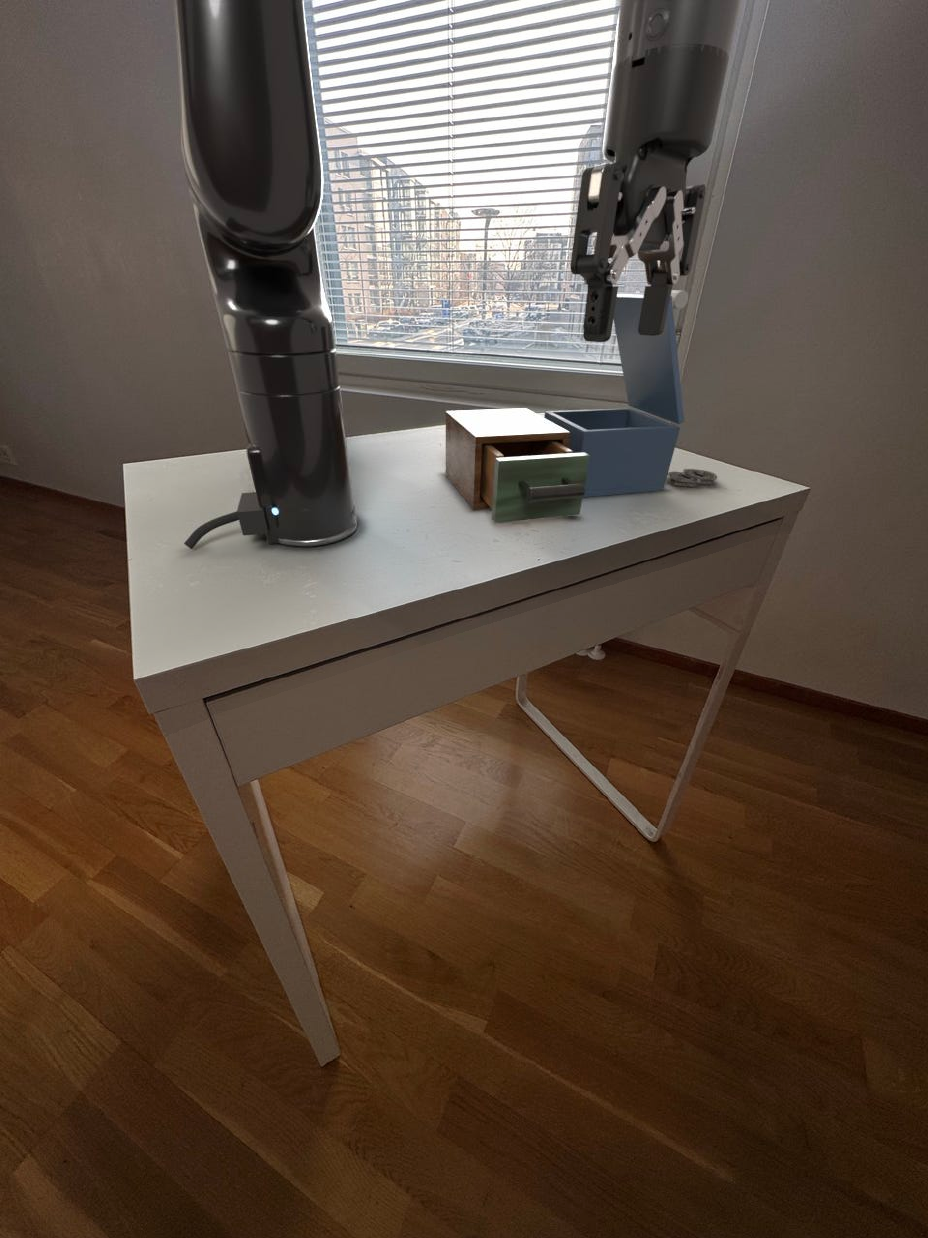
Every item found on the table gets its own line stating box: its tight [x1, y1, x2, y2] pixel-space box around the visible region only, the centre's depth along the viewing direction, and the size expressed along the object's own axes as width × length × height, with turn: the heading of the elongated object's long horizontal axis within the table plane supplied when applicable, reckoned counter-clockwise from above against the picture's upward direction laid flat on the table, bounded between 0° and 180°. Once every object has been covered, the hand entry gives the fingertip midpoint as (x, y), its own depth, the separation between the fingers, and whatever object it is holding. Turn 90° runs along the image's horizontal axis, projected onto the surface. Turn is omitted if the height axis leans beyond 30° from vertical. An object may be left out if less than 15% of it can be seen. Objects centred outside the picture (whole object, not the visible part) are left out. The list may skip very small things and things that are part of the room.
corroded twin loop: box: [667, 468, 718, 488], centre depth 67 cm, size 5×8×1 cm, turn 117°
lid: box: [613, 289, 689, 425], centre depth 60 cm, size 14×12×5 cm
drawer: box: [480, 440, 590, 524], centre depth 55 cm, size 16×10×7 cm, turn 16°
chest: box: [543, 407, 681, 498], centre depth 65 cm, size 14×12×8 cm
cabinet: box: [445, 407, 570, 511], centre depth 62 cm, size 14×12×9 cm
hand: (624, 338), depth 41 cm, fingers open, 8 cm apart
